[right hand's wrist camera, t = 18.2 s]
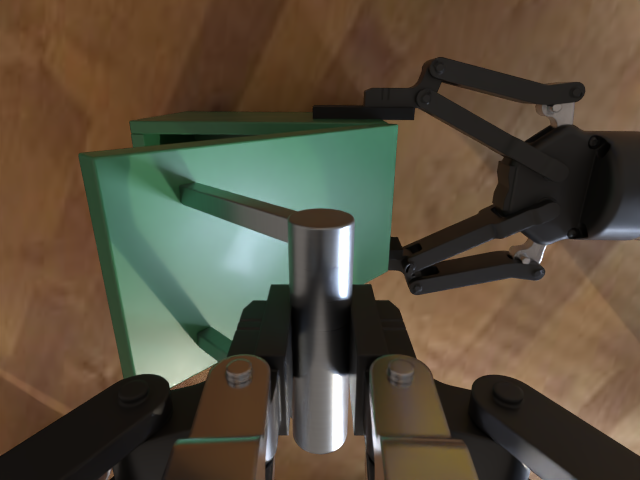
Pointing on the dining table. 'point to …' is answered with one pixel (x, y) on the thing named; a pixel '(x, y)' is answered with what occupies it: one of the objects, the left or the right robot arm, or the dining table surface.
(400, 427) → the right robot arm
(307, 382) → the lid
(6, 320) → the dining table surface
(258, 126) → the chest
